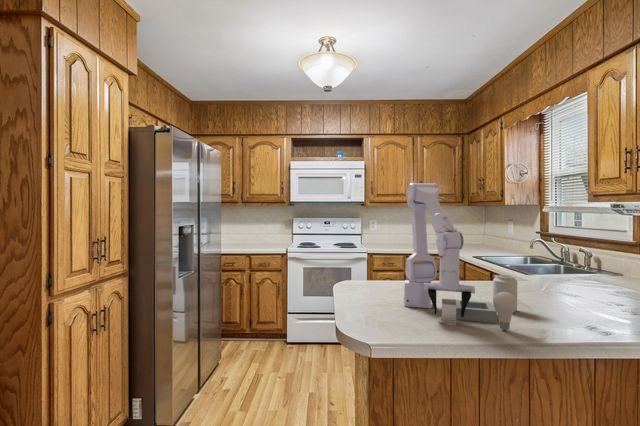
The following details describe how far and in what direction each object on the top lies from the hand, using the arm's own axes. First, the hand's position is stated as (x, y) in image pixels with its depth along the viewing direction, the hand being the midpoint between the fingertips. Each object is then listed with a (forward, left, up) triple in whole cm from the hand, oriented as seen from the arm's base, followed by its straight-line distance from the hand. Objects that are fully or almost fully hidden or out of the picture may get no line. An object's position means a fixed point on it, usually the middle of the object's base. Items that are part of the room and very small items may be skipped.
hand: (448, 315), depth 112 cm
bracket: (0, 0, -2) cm, 2 cm away
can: (+19, +21, -2) cm, 28 cm away
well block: (+8, +10, -2) cm, 13 cm away
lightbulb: (+15, -3, -2) cm, 15 cm away
